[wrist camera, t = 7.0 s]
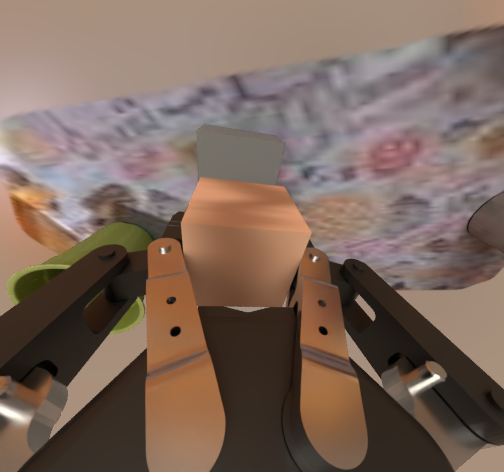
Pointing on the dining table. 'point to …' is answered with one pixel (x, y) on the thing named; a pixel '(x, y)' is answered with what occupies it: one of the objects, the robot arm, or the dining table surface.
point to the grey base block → (238, 155)
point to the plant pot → (43, 273)
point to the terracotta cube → (242, 243)
